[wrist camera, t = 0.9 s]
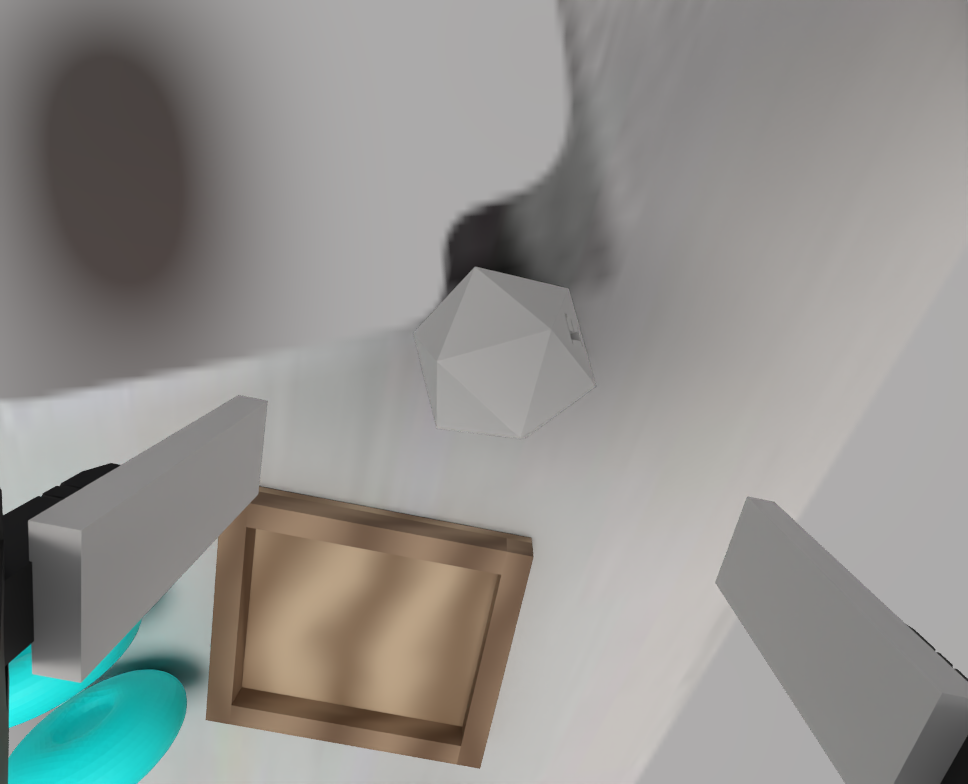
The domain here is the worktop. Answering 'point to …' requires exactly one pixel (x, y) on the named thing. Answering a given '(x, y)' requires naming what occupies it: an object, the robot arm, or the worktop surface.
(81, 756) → the donuts
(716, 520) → the worktop surface
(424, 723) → the tray
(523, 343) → the die
